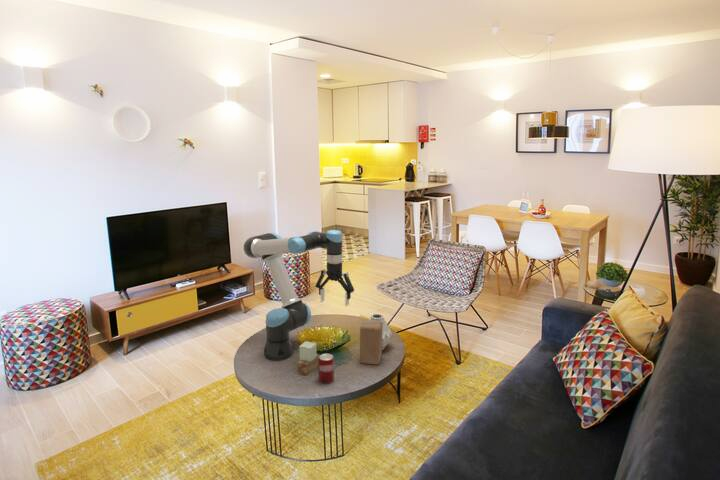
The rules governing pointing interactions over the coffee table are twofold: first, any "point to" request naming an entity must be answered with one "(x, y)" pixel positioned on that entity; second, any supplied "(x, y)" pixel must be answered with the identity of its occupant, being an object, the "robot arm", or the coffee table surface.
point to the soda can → (326, 368)
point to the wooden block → (370, 342)
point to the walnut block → (307, 366)
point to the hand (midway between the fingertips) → (334, 303)
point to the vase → (385, 329)
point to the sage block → (308, 351)
